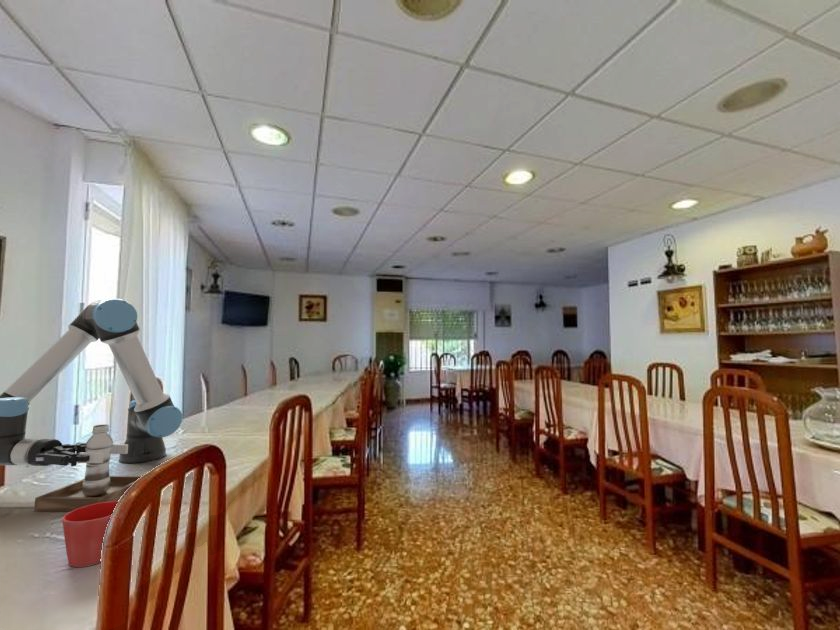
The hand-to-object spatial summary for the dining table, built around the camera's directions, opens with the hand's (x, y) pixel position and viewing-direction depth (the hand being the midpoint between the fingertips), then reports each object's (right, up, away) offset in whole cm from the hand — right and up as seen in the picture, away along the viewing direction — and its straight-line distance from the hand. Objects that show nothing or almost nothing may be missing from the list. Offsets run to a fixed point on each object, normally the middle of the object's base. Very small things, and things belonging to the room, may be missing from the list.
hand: (115, 453), depth 112 cm
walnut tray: (-5, -13, -1) cm, 14 cm away
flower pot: (+20, -11, -31) cm, 39 cm away
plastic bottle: (-5, -12, -1) cm, 13 cm away
